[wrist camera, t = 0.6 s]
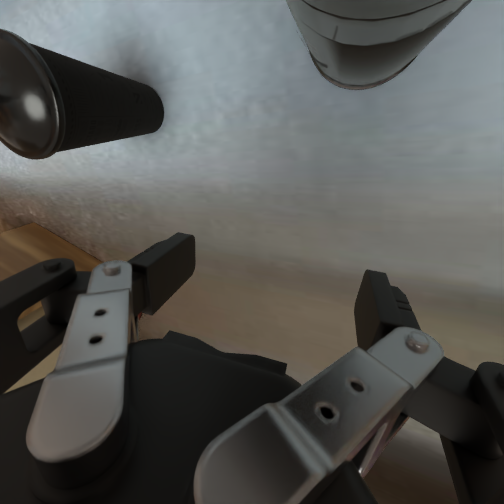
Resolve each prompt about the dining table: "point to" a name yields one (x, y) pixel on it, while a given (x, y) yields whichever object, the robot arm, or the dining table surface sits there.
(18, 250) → the wooden frame
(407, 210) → the dining table surface
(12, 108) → the drinking cup
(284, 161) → the dining table surface
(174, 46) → the dining table surface
